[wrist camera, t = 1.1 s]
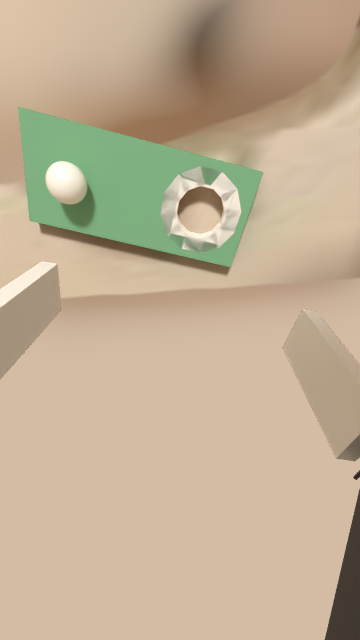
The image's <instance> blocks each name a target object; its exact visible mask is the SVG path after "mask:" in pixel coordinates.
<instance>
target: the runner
mask: <svg viewBox="0 0 360 640" xmlns="http://www.w3.org/2000/svg"><path fill="white" fill-rule="evenodd" d="M18 110H19V119H20V129H21V139H22V149H23V159H24V169H25V179H26V188H27V198H28V208H29V218H30V221H33V222H37V223H42V224H46V225H50V226H55V227H59V228H63V229H67V230H72V231H76V232H80V233H85V234H89V235H93V236H98V237H102V238H106V239H111V240H115V241H119V242H124V243H128V244H132V245H137V246H141V247H145V248H150V249H154V250H158V251H162V252H167V253H171V254H175V255H180V256H184V257H188V258H193V259H197V260H201V261H206V262H210V263H214V264H219V265H223V266H227V267H230V266H231V263H232V261H233V258H234V255H235V252H236V249H237V246H238V243H239V240H240V238H241V235H242V232H243V229H244V226H245V223H246V220H247V218H248V215H249V212H250V209H251V206H252V203H253V200H254V197H255V195H256V192H257V189H258V186H259V183H260V180H261V177H262V174H263V172H261V171H257V170H253V169H250V168H246V167H242V166H238V165H235V164H231V163H227V162H223V161H220V160H216V159H212V158H208V157H205V156H201V155H197V154H193V153H190V152H186V151H182V150H178V149H175V148H171V147H167V146H163V145H160V144H156V143H152V142H148V141H144V140H141V139H137V138H133V137H130V136H126V135H122V134H118V133H115V132H111V131H107V130H103V129H99V128H96V127H92V126H88V125H85V124H81V123H77V122H73V121H69V120H66V119H62V118H58V117H55V116H51V115H47V114H44V113H40V112H36V111H32V110H29V109H25V108H20V107H18ZM58 161H66V162H70V163H72V164H74V165H75V166H77V167H78V168H79V169H80V170H81V171H82V173H83V174H84V176H85V178H86V181H87V193H86V195H85V197H84V198H83V200H82V201H80V202H79V203H77V204H64V203H62V202H60V201H58V200H56V199H55V198H54V197H53V196H52V195H51V193H50V192H49V190H48V188H47V185H46V172H47V170H48V168H49V167H50V166H51V165H52V164H53V163H55V162H58ZM199 186H203V187H207V188H210V189H214V191H215V192H216V193H217V194H218V195H219V196H220V197H221V201H222V206H223V213H222V216H221V219H220V222H219V223H218V224H217V225H216V226H215V227H214V228H213V230H212V231H209V232H206V233H203V234H197V233H193V232H189V231H188V230H187V229H186V228H185V227H184V226H183V225H182V224H181V223H180V219H179V216H178V213H177V210H178V205H179V200H180V199H181V198H182V197H183V196H184V194H185V193H186V192H187V191H188V190H190V189H193V188H196V187H199Z"/></svg>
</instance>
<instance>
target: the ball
mask: <svg viewBox="0 0 360 640" xmlns="http://www.w3.org/2000/svg"><path fill="white" fill-rule="evenodd" d="M46 185H47V188H48V190H49V192H50V193H51V195H52V196H53V197H54V198H55V199H56V200H58V201H60V202H62V203H64V204H77V203H79V202H80V201H82V200H83V198H84V197H85V195H86V193H87V181H86V178H85V176H84V174H83V173H82V171H81V170H80V169H79V168H78V167H77V166H75V165H74V164H72V163H70V162H66V161H58V162H55V163H53V164H52V165H51V166H50V167H49V168H48V170H47V172H46Z"/></svg>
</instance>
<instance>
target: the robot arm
mask: <svg viewBox="0 0 360 640" xmlns="http://www.w3.org/2000/svg"><path fill="white" fill-rule="evenodd" d="M60 311H61V298H60V287H59V276H58V265H57V264H54V263H49V262H43V261H42V262H40V263H39V264H37V265H36V266H34V267H33V268H31V269H30V270H28V271H27V272H25V273H24V274H22V275H21V276H19V277H18V278H16V279H15V280H13V281H12V282H10V283H9V284H7V285H6V286H4V287H3V288H1V289H0V379H1V378H2V377H3V376H4V375H5V374H6V372H7V371H8V370H9V369H10V368H11V367H12V366H13V365H14V363H15V362H16V361H17V360H18V359H19V358H20V357H21V355H22V354H23V353H24V352H25V350H27V349H28V347H29V346H30V345H31V344H32V343H33V342H34V341H35V339H36V338H37V337H38V336H39V335H40V334H41V333H42V332H43V330H44V329H45V328H46V327H47V326H48V325H49V324H50V322H51V321H52V320H53V319H54V318H55V317H56V316H57V314H58V313H59V312H60ZM283 350H284V352H285V354H286V356H287V358H288V360H289V362H290V364H291V366H292V368H293V371H294V372H295V375H296V377H297V379H298V381H299V383H300V385H301V387H302V389H303V391H304V393H305V395H306V397H307V399H308V401H309V403H310V406H311V408H312V410H313V412H314V414H315V416H316V418H317V420H318V422H319V424H320V426H321V428H322V430H323V432H324V434H325V436H326V439H327V441H328V443H329V445H330V447H331V449H332V451H333V453H334V455H335V457H336V458H337V459H344V460H350V461H356V460H357V459H358V458H359V457H360V364H359V363H358V361H357V360H356V359H355V358H354V357H353V355H352V354H351V353H350V352H349V351H348V349H347V348H346V347H345V346H344V345H343V344H342V342H341V341H340V340H339V338H338V337H337V336H336V335H335V334H334V332H333V331H332V330H331V329H330V328H329V326H328V325H327V324H326V323H325V321H324V320H323V319H322V318H321V317H320V315H319V314H318V313H317V312H316V311H312V310H306V309H302V311H301V313H300V315H299V317H298V319H297V321H296V322H295V324H294V326H293V328H292V330H291V332H290V334H289V336H288V338H287V340H286V342H285V344H284V346H283ZM359 477H360V471H359V472H357V474H356V475H355V476H354V477H353V478H354V479H356V480H357V479H358V478H359ZM325 640H360V490H359V494H358V499H357V503H356V507H355V512H354V516H353V520H352V524H351V529H350V533H349V537H348V542H347V546H346V550H345V555H344V559H343V563H342V568H341V572H340V576H339V581H338V585H337V589H336V594H335V598H334V602H333V607H332V611H331V616H330V620H329V624H328V628H327V633H326V637H325Z"/></svg>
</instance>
